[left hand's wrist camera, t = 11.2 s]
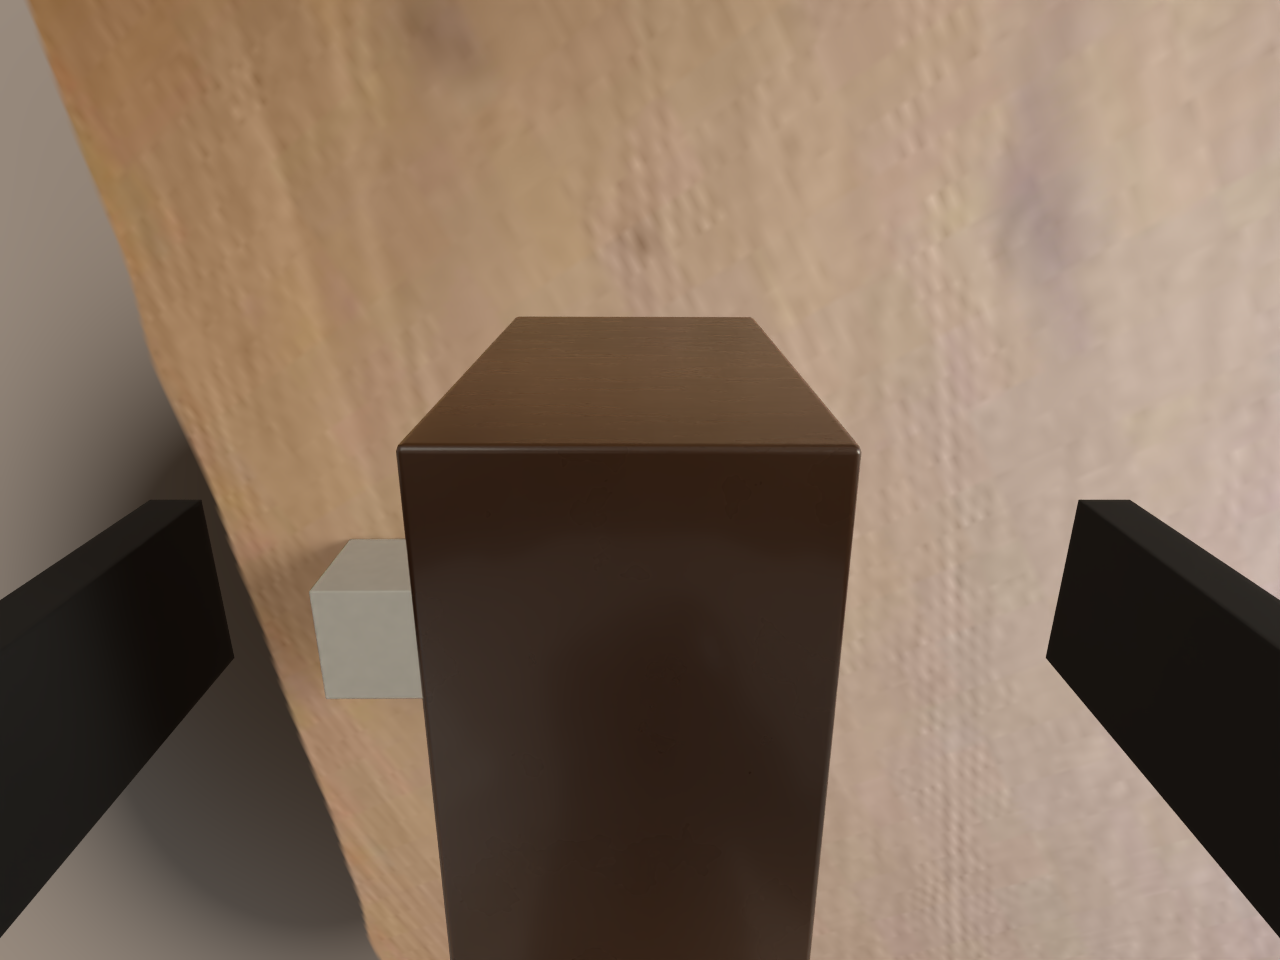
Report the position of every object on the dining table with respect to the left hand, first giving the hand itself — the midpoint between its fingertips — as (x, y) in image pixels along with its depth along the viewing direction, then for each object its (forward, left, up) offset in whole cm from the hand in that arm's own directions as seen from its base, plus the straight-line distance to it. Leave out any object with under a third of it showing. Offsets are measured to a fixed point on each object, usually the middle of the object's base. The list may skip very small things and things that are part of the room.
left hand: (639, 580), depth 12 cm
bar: (+10, 0, -4) cm, 11 cm away
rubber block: (+12, -10, -22) cm, 27 cm away
